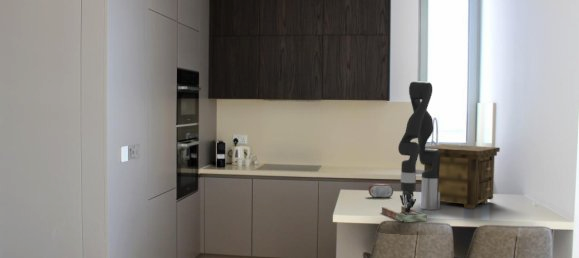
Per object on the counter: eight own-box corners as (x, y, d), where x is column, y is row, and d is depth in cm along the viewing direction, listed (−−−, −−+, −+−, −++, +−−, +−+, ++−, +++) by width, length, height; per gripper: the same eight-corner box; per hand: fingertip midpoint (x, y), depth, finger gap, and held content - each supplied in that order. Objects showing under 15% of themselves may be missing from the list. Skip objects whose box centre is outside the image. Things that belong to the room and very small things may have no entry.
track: (403, 211, 306) (403, 206, 306) (427, 220, 283) (427, 214, 283) (381, 212, 303) (381, 207, 302) (403, 222, 280) (403, 216, 280)
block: (413, 218, 289) (413, 211, 288) (418, 220, 284) (419, 213, 284) (404, 219, 287) (405, 212, 287) (409, 221, 282) (410, 214, 282)
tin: (392, 197, 354) (392, 183, 353) (393, 198, 351) (393, 184, 350) (368, 197, 353) (368, 183, 353) (369, 197, 350) (369, 184, 350)
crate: (441, 195, 361) (443, 144, 360) (497, 202, 340) (499, 147, 339) (418, 203, 334) (419, 147, 332) (477, 210, 312) (479, 151, 311)
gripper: (421, 182, 283) (420, 217, 284) (408, 179, 296) (407, 212, 297) (407, 183, 281) (407, 218, 282) (395, 179, 294) (394, 213, 295)
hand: (407, 215), depth 290 cm, fingers closed
